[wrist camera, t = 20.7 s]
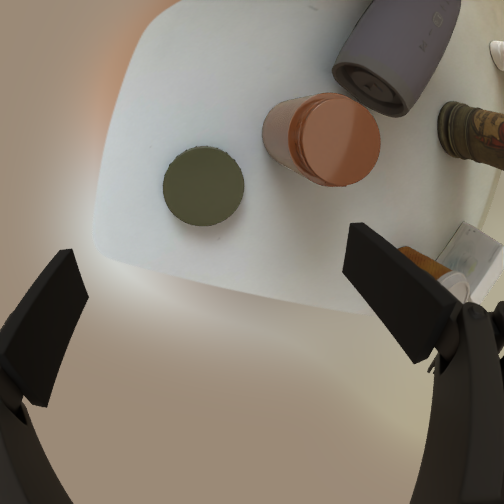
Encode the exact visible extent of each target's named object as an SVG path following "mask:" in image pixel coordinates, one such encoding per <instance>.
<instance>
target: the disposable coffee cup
mask: <svg viewBox="0 0 504 504" xmlns="http://www.w3.org/2000/svg"><path fill="white" fill-rule="evenodd" d="M398 250H399V251H400V252H402V253H403V254H404V255H405V256H407V257H408V258H409V259H410V260H411V261H413V262H414V263H415V264H416V265H417V266H418V267H420V268H421V269H423V270H425V271H427V272H428V273H429V274H431V275H432V276H433V277H434V278H435V280H437V281H439V282H440V283H441V286H442V285H443V286H444V287H445V288H446V289H447V290H449V291H450V292H451V293H452V294H453V295H454V296H455V297H456V298H457V299H458V300H459V301H460V302H461V303H462V304H464V303H466V302H467V300H468V297H469V293H470V286H469V283H468V282H467V281H466V277H465V275H464V274H463V273H461V272H457V271H452V270H451V269H449V268H447V267H445V266H443V265H442V264H440V263H438V262H436V261H434V260H432V259H431V258H429V257H427V256H425V255H423V254H421V253H419V252H417V251H416V250H414V249H412V248H410V247H407V246H405V247H401V248H399V249H398Z"/></svg>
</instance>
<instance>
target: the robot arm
mask: <svg viewBox="0 0 504 504" xmlns="http://www.w3.org/2000/svg"><path fill="white" fill-rule="evenodd" d="M342 273H343V274H344V275H345V276H346V277H347V279H348V280H349V281H350V282H351V283H352V285H353V286H354V287H355V288H356V289H357V291H358V292H359V293H360V294H361V296H362V297H363V298H364V299H365V301H366V302H367V303H368V304H369V306H370V307H371V308H372V309H373V311H374V312H375V313H376V314H377V316H378V317H379V318H380V319H381V321H382V322H383V323H384V325H385V326H386V327H387V329H388V330H389V331H390V332H391V334H392V335H393V336H394V338H395V339H396V341H397V342H398V343H399V344H400V346H401V347H402V349H403V350H404V351H405V353H406V354H407V355H408V357H409V358H410V359H411V361H412V362H413V364H416V363H418V362H421V361H423V360H425V359H427V358H428V357H429V355H430V354H431V352H432V350H433V348H434V347H435V348H436V349H437V351H438V354H437V355H436V357H435V358H434V360H433V362H432V363H431V365H430V367H429V368H428V371H427V372H428V373H430V371H431V370H432V368H433V367H435V370H434V372H433V374H434V386H433V397H432V406H431V414H430V422H429V428H428V434H427V439H426V444H425V450H424V454H423V458H422V462H421V467H420V470H419V475H418V478H417V482H416V485H415V488H414V491H413V495H412V498H411V501H410V504H504V356H503V357H502V358H501V359H500V358H499V355H498V354H499V353H500V351H501V350H502V348H503V346H504V301H500V302H499V303H498V305H497V306H496V308H495V310H494V312H487V311H486V310H485V309H484V308H483V307H482V306H480V305H479V304H476V303H474V302H466V303H464V304H462V303H461V302H460V301H459V300H458V299H457V298H456V297H455V296H454V295H453V294H452V293H451V292H450V291H449V290H447V289H446V288H445V287H444V286H443V285H442V286H441V283H440V282H439V281H437V280H435V278H434V277H433V276H432V275H431V274H429V273H428V272H427V271H425V270H423V269H421V268H420V267H418V266H417V265H416V264H415V263H414V262H413V261H411V260H410V259H409V258H408V257H407V256H405V255H404V254H403V253H402V252H400V251H399V250H398V249H397V248H395V247H394V246H393V245H392V244H390V243H389V242H388V241H387V240H385V239H384V238H383V237H382V236H380V235H379V234H378V233H376V232H375V231H374V230H372V229H371V228H370V227H368V226H367V225H366V224H364V223H363V222H361V223H350V227H349V234H348V240H347V247H346V253H345V259H344V265H343V271H342ZM88 298H89V296H88V294H87V291H86V289H85V286H84V283H83V280H82V277H81V274H80V272H79V269H78V265H77V262H76V259H75V256H74V253H73V250H72V249H66V250H59V252H58V253H57V254H56V255H55V256H54V258H53V259H52V260H51V261H50V262H49V264H48V265H47V266H46V267H45V269H44V270H43V271H42V273H41V274H40V275H39V276H38V278H37V279H36V280H35V282H34V283H33V284H32V286H31V287H30V289H29V290H28V292H27V293H26V294H25V296H24V297H23V299H22V300H21V301H20V303H19V304H18V306H17V307H16V309H15V310H14V311H13V312H12V313H11V314H10V315H9V317H8V318H7V320H6V322H5V323H4V324H5V325H3V326H2V328H1V330H0V504H73V502H72V501H71V499H70V498H69V496H68V494H67V493H66V491H65V490H64V488H63V486H62V485H61V483H60V481H59V479H58V478H57V476H56V474H55V472H54V470H53V469H52V467H51V465H50V463H49V461H48V459H47V457H46V455H45V452H44V450H43V448H42V446H41V444H40V441H39V439H38V437H37V435H36V432H35V430H34V427H33V425H32V422H31V419H30V417H29V414H28V411H27V408H26V406H25V405H24V403H23V402H22V398H23V395H24V396H25V397H26V398H27V399H28V400H29V401H30V403H31V404H32V405H36V406H41V407H46V408H47V406H48V402H49V399H50V396H51V392H52V389H53V386H54V383H55V380H56V377H57V373H58V371H59V368H60V365H61V362H62V360H63V357H64V354H65V352H66V349H67V346H68V344H69V341H70V339H71V337H72V334H73V332H74V329H75V326H76V325H77V322H78V320H79V318H80V315H81V313H82V311H83V309H84V307H85V304H86V302H87V300H88Z"/></svg>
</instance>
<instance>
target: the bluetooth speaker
mask: <svg viewBox="0 0 504 504" xmlns="http://www.w3.org/2000/svg"><path fill="white" fill-rule="evenodd" d="M460 7H461V0H373V1H372V3H371V4H370V5H369V7H368V8H367V9H366V11H365V12H364V14H363V15H362V16H361V18H360V19H359V21H358V22H357V24H356V26H355V28H354V29H353V31H352V33H351V35H350V37H349V38H348V40H347V41H346V43H345V44H344V46H343V48H342V49H341V51H340V53H339V55H338V57H337V59H336V61H335V64H334V66H333V68H332V74H333V76H334V78H335V80H336V81H337V82H338V83H339V84H340V85H341V86H342V87H344V88H345V89H346V90H347V91H348V92H350V93H351V94H352V95H353V96H354V97H355V98H356V99H357V100H359V101H360V102H361V103H362V104H364V105H365V106H367V107H369V108H371V109H372V110H374V111H376V112H379V113H381V114H383V115H386V116H389V117H394V118H397V117H402V116H404V115H406V114H407V113H408V112H409V110H410V109H411V108H412V107H413V105H414V104H415V103H416V101H417V100H418V98H419V97H420V95H421V94H422V92H423V90H424V89H425V87H426V85H427V84H428V82H429V80H430V79H431V77H432V75H433V73H434V71H435V70H436V68H437V66H438V64H439V62H440V60H441V58H442V56H443V54H444V52H445V50H446V47H447V45H448V43H449V41H450V38H451V36H452V33H453V30H454V28H455V25H456V22H457V18H458V15H459V12H460Z"/></svg>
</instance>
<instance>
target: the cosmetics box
mask: <svg viewBox="0 0 504 504" xmlns="http://www.w3.org/2000/svg"><path fill="white" fill-rule="evenodd" d="M436 262H438V263H440V264H442V265H443V266H445V267H447V268H449V269H451V270H452V271H457V272H461V273H463V274H464V275H465V277H466V281H467V282H468V283H469V286H470V293H469V297H468V300H467V301H468V302H474V303H476V304H479V305H480V304H481V302H482V301H483V300H484V298H485V297H486V296H487V294H488V293H489V291H490V290H491V289H492V287H493V286H494V284H495V283H496V281H497V280H498V278H499V277H500V275H501V273H502V272H503V270H504V246H503V245H502V244H501V243H499V242H498V241H496V240H494V239H493V238H491V237H490V236H488V235H486V234H485V233H483V232H482V231H480V230H478V229H477V228H475V227H473V226H472V225H470V224H468V223H466V222H465V221H463V223H462V224H461V226H460V227H459V229H458V230H457V232H456V233H455V235H454V236H453V238H452V239H451V241H450V242H449V243H448V245H447V246H446V248H445V249H444V250H443V252H442V253H441V254H440V256H439V257H438V259H437V260H436Z"/></svg>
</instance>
